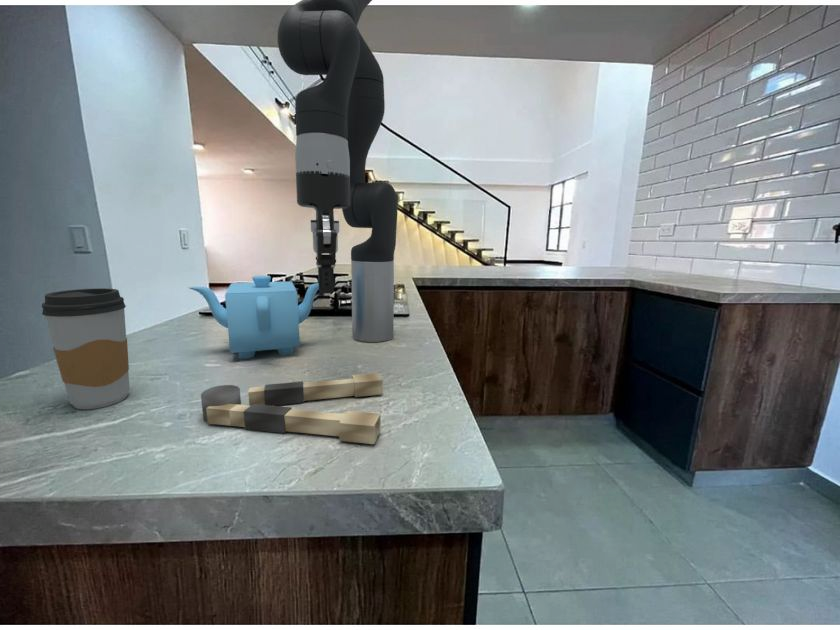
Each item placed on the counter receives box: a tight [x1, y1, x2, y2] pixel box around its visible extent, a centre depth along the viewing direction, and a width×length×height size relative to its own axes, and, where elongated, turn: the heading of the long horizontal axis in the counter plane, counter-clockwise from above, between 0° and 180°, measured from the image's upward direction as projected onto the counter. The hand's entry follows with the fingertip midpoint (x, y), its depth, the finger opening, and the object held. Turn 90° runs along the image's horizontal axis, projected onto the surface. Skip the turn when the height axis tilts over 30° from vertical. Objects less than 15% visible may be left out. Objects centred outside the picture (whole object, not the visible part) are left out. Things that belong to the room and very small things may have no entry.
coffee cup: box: [41, 288, 131, 410], centre depth 51 cm, size 8×8×15 cm
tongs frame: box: [200, 384, 381, 445], centre depth 47 cm, size 23×6×3 cm, turn 82°
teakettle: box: [187, 274, 319, 360], centre depth 76 cm, size 19×19×15 cm
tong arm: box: [247, 372, 384, 406], centre depth 54 cm, size 18×3×2 cm, turn 107°
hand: (326, 292), depth 58 cm, fingers closed
